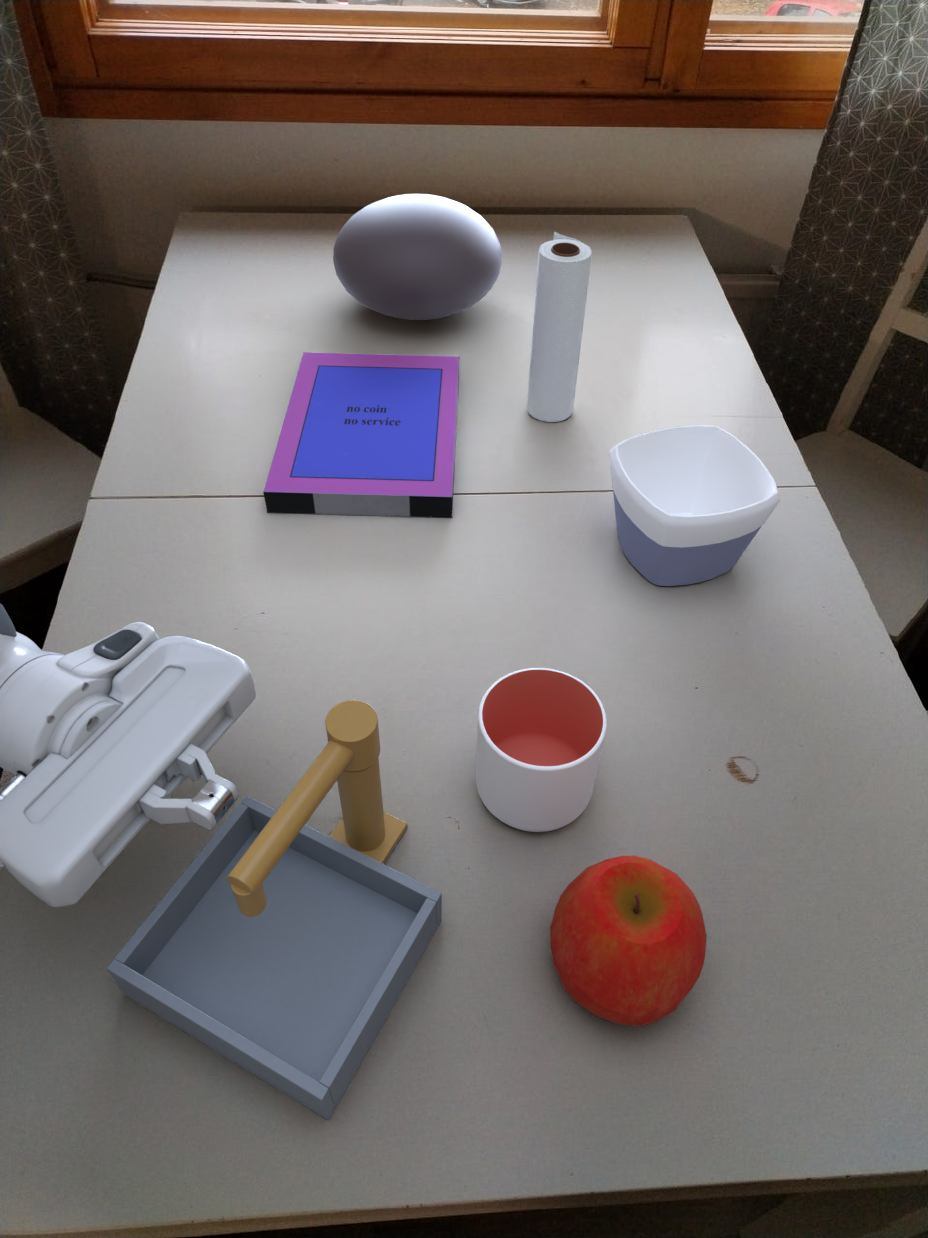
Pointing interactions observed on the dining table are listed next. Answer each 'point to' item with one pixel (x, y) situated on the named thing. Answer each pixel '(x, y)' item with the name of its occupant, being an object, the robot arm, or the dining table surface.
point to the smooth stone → (417, 256)
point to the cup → (538, 748)
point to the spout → (306, 798)
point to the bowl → (688, 501)
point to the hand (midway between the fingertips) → (224, 808)
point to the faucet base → (366, 815)
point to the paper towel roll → (557, 327)
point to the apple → (628, 940)
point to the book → (368, 437)
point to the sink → (282, 957)
